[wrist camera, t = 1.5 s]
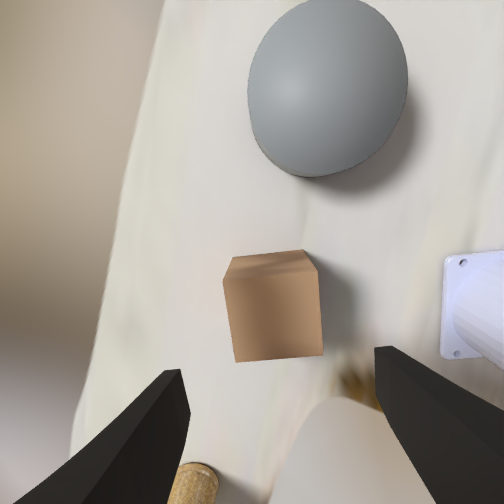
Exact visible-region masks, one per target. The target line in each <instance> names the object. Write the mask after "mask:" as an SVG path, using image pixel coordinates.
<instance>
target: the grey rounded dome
mask: <svg viewBox="0 0 504 504" xmlns="http://www.w3.org/2000/svg"><path fill="white" fill-rule="evenodd" d="M407 85H408V70H407V62H406V56H405V53H404V49H403V46H402V43H401V41H400V39H399V37H398V35H397V33H396V32H395V30H394V28H393V27H392V25H391V24H390V23H389V22H388V21H387V19H386V18H385V17H384V16H383V15H382V14H381V13H379V12H378V11H377V10H376V9H374V8H373V7H371V6H369V5H368V4H366V3H364V2H361V1H359V0H309V1H306V2H304V3H301V4H299V5H298V6H296V7H294V8H292V9H291V10H289V11H288V12H287V13H285V14H284V15H283V16H282V17H280V18H279V19H278V20H277V21H276V22H275V23H274V25H273V26H272V27H271V28H270V29H269V31H268V32H267V33H266V35H265V36H264V38H263V39H262V41H261V43H260V44H259V46H258V48H257V51H256V53H255V55H254V58H253V61H252V64H251V68H250V72H249V78H248V90H247V95H248V107H249V113H250V119H251V125H252V130H253V133H254V136H255V139H256V141H257V143H258V145H259V147H260V148H261V150H262V152H263V153H264V154H265V155H266V157H267V158H268V159H269V160H270V161H271V162H272V163H273V164H275V165H276V166H277V167H279V168H280V169H282V170H284V171H286V172H288V173H291V174H293V175H297V176H302V177H319V176H324V175H329V174H333V173H337V172H341V171H344V170H346V169H349V168H352V167H354V166H356V165H358V164H360V163H361V162H363V161H364V160H366V159H367V158H369V157H370V156H371V155H372V154H374V153H375V152H376V151H377V150H378V149H379V148H380V147H381V146H382V145H383V144H384V142H385V141H386V140H387V138H388V137H389V136H390V134H391V133H392V131H393V129H394V128H395V126H396V124H397V122H398V120H399V118H400V115H401V113H402V110H403V107H404V103H405V99H406V94H407Z"/></svg>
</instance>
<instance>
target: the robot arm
mask: <svg viewBox="0 0 504 504" xmlns="http://www.w3.org/2000/svg"><path fill="white" fill-rule="evenodd" d="M462 259H463V262H462V264H460V265H459V262H460V261H461V260H462ZM455 351H456V352H455ZM374 352H375V384H376V396H377V399H378V401H379V403H380V405H381V408H382V410H383V412H384V414H385V416H386V418H387V420H388V423H389V424H390V426H391V428H392V430H393V432H394V433H395V435H396V437H397V438H398V440H399V442H400V444H401V445H402V447H403V449H404V450H405V452H406V454H407V455H408V457H409V459H410V460H411V462H412V464H413V466H414V467H415V469H416V471H417V472H418V474H419V476H420V477H421V479H422V481H423V482H424V484H425V486H426V487H427V489H428V490H429V492H430V494H431V495H432V497H433V499H434V501H435V502H436V504H504V411H503V410H501V409H499V408H498V407H496V406H494V405H492V404H490V403H488V402H486V401H485V400H483V399H481V398H479V397H477V396H475V395H474V394H472V393H470V392H468V391H467V390H465V389H463V388H461V387H460V386H458V385H456V384H454V383H453V382H451V381H449V380H448V379H446V378H444V377H443V376H441V375H439V374H438V373H436V372H434V371H433V370H431V369H429V368H428V367H426V366H424V365H423V364H421V363H420V362H418V361H416V360H415V359H413V358H411V357H410V356H408V355H407V354H405V353H403V352H402V351H400V350H398V349H397V348H395V347H393V346H384V347H375V348H374ZM454 352H455V353H454ZM440 355H441V356H442V357H443V358H444V359H446V360H453V359H465V358H478V357H486V358H487V359H488V360H490V361H491V362H492V363H494V364H495V365H496V366H498V367H499V368H500V369H502V370H503V371H504V250H497V251H487V252H478V253H469V254H459V255H451V256H449V257H447V258H446V260H445V262H444V277H443V297H442V316H441V335H440ZM190 415H191V412H190V408H189V404H188V399H187V395H186V391H185V387H184V383H183V379H182V374H181V370H180V369H174V370H165V371H163V372H162V373H161V374H160V375H159V376H158V377H157V378H156V379H155V380H154V381H153V382H152V383H151V384H150V385H149V386H148V387H147V388H146V389H145V390H144V391H143V392H142V393H141V394H140V395H139V396H138V397H137V398H136V399H135V400H134V401H133V402H132V403H131V404H130V405H129V406H128V407H127V408H126V409H125V410H124V411H123V412H122V413H121V414H120V415H119V416H118V417H117V418H115V419H114V420H113V421H112V422H111V423H110V424H109V425H108V426H107V427H106V428H105V429H104V430H102V431H101V432H100V433H99V434H98V435H97V436H96V437H95V438H94V439H93V440H92V441H90V442H89V443H88V444H87V445H86V446H85V447H84V448H83V449H81V450H80V451H79V452H78V453H77V454H76V455H75V456H73V457H72V458H71V459H70V460H69V461H67V462H66V463H65V464H64V465H62V466H61V467H60V468H59V469H58V470H56V471H55V472H54V473H53V474H51V475H50V476H49V477H48V478H47V479H46V480H44V481H43V482H41V483H40V484H39V485H38V486H36V487H35V488H34V489H32V490H31V491H30V492H28V493H27V494H25V495H24V496H23V497H22V498H20V499H19V500H17V501H16V502H15V503H13V504H167V503H168V499H169V496H170V493H171V489H172V486H173V483H174V480H175V476H176V473H177V470H178V466H179V463H180V460H181V456H182V453H183V450H184V446H185V442H186V437H187V432H188V427H189V421H190Z"/></svg>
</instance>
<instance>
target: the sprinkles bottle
mask: <svg viewBox="0 0 504 504" xmlns="http://www.w3.org/2000/svg"><path fill="white" fill-rule="evenodd" d="M218 488H219V483H218V478H217V476H216V475H215V473H214V472H213V471H212V470H211V469H210V468H208V467H207V466H204V465H201V464H197V463H192V464H191V463H190V464H185V465H182V466H180V467H178V470H177V473H176V476H175V480H174V483H173V486H172V489H171V493H170V496H169V499H168V503H167V504H215V499H216V495H217V493H218Z"/></svg>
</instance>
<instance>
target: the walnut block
mask: <svg viewBox="0 0 504 504" xmlns="http://www.w3.org/2000/svg"><path fill="white" fill-rule="evenodd" d="M223 287H224V293H225V299H226V306H227V312H228V318H229V324H230V331H231V337H232V343H233V349H234V355H235V362H236V363H237V362H249V361H261V360H273V359H285V358H297V357H309V356H320V355H323V342H322V327H321V313H320V298H319V283H318V271H317V269H316V268H315V266H314V265H313V264H312V262H311V261H310V259H309V258H308V256H307V255H306V254H305V252H304V251H303V250H294V251H285V252H276V253H267V254H258V255H249V256H240V257H233V258H232V261H231V263H230V265H229V267H228V270H227V272H226V274H225V277H224V279H223Z"/></svg>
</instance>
